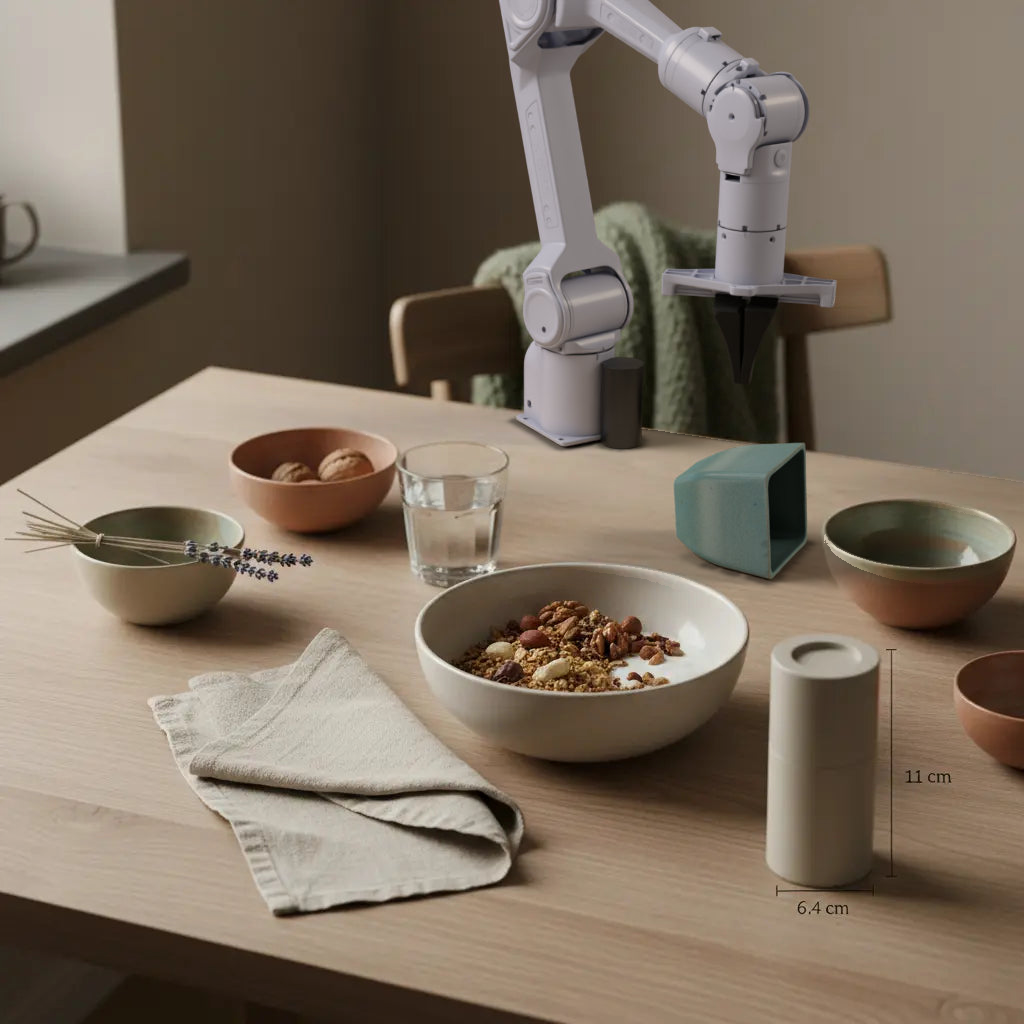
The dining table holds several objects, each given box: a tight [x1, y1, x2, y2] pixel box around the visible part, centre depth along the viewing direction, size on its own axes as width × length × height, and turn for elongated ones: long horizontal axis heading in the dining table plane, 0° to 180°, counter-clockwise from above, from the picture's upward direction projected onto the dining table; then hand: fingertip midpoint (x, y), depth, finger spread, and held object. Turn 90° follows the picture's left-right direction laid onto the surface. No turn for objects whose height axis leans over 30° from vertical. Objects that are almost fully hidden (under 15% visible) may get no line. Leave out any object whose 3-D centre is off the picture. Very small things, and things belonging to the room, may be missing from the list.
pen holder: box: [599, 356, 645, 450], centre depth 146 cm, size 4×4×8 cm
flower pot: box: [673, 442, 808, 580], centre depth 122 cm, size 9×9×9 cm
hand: (742, 380), depth 131 cm, fingers closed
